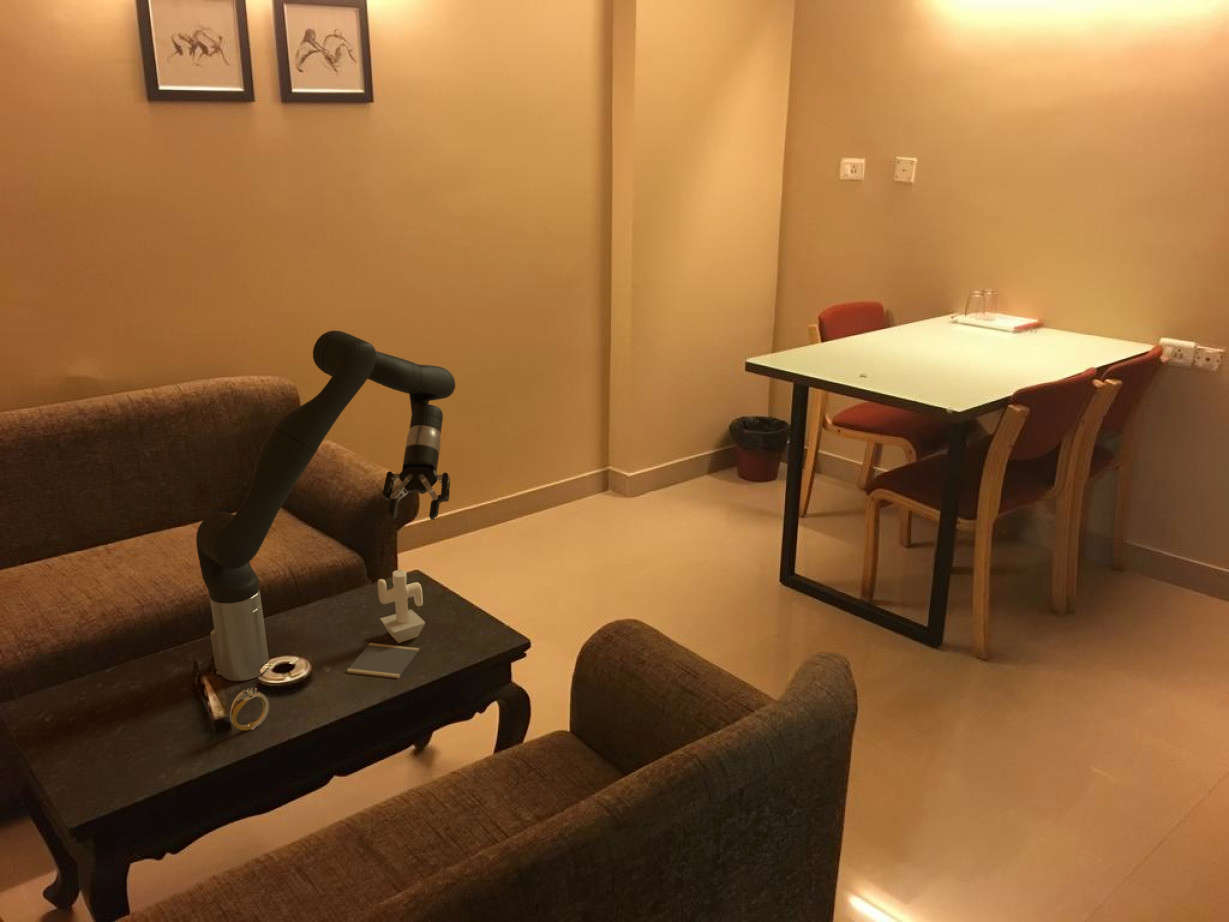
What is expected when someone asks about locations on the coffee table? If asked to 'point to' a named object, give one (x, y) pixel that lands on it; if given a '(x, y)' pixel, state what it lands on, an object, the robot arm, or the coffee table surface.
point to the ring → (246, 696)
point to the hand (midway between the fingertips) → (412, 518)
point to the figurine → (401, 607)
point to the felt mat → (383, 660)
